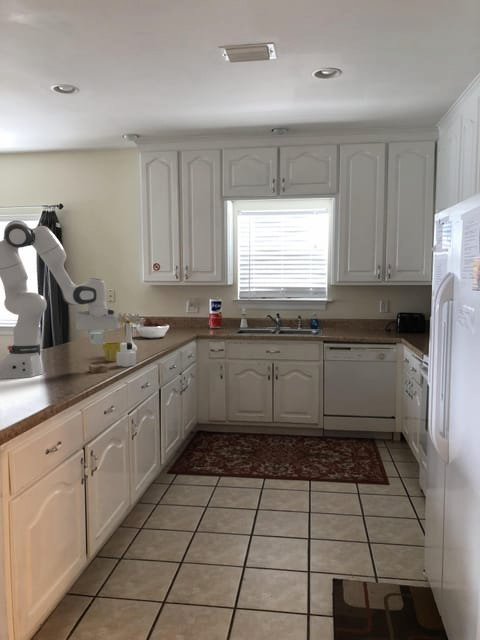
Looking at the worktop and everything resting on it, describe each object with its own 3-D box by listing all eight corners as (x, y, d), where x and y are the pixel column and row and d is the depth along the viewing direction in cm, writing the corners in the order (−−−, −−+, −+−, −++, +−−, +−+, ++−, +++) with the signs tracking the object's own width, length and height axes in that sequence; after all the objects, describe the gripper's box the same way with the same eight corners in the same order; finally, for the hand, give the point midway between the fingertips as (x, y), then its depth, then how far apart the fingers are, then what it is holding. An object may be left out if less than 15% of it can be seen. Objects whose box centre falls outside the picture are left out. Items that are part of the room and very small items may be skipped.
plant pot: (115, 358, 290) (115, 341, 289) (125, 360, 283) (125, 343, 282) (99, 360, 283) (99, 342, 282) (109, 362, 275) (108, 344, 275)
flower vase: (143, 356, 299) (143, 313, 296) (112, 355, 299) (111, 313, 297) (147, 352, 312) (147, 312, 309) (117, 352, 312) (117, 311, 309)
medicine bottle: (127, 363, 272) (127, 341, 271) (136, 365, 268) (135, 342, 267) (116, 365, 267) (116, 342, 266) (125, 367, 262) (124, 344, 261)
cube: (93, 344, 253) (93, 335, 252) (89, 342, 257) (90, 332, 256) (102, 344, 256) (103, 334, 255) (99, 341, 260) (100, 332, 259)
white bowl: (137, 336, 399) (137, 316, 397) (169, 335, 401) (169, 316, 400) (134, 340, 374) (134, 319, 373) (168, 339, 377) (168, 319, 375)
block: (92, 373, 245) (92, 367, 245) (89, 370, 251) (88, 364, 251) (107, 371, 249) (107, 365, 249) (103, 369, 255) (103, 363, 255)
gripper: (77, 311, 246) (77, 340, 247) (118, 311, 257) (118, 338, 258) (74, 311, 252) (74, 338, 253) (115, 310, 262) (115, 337, 263)
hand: (97, 338), depth 255 cm, fingers closed on cube, 5 cm apart
